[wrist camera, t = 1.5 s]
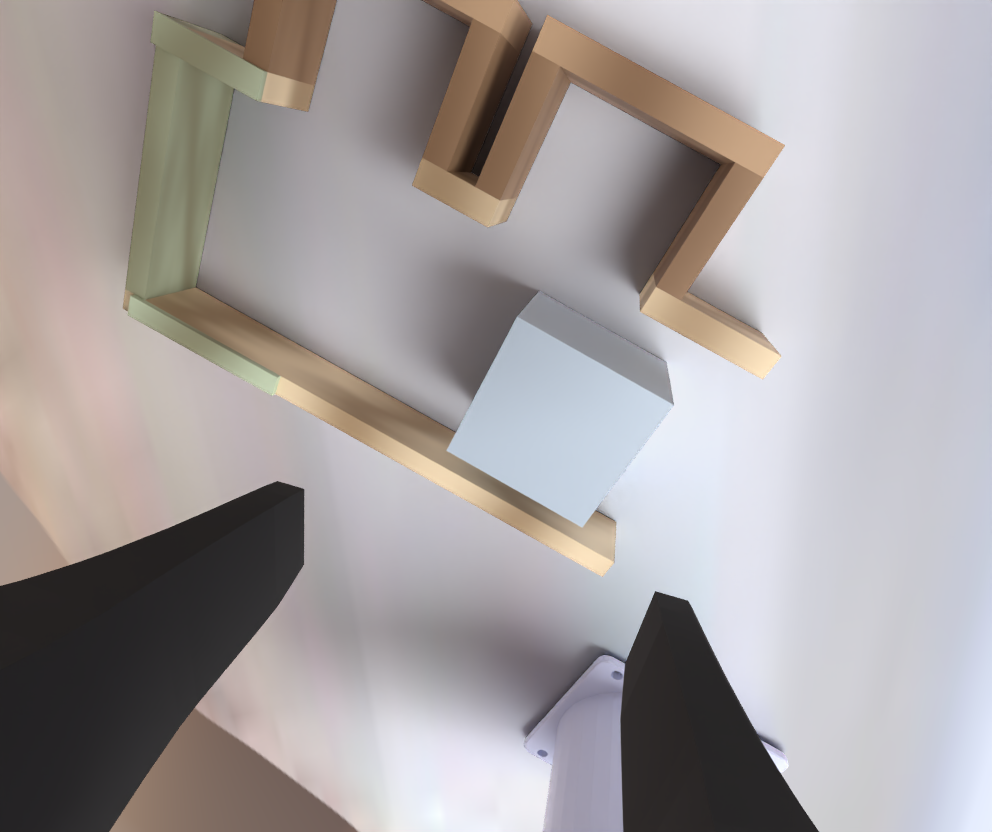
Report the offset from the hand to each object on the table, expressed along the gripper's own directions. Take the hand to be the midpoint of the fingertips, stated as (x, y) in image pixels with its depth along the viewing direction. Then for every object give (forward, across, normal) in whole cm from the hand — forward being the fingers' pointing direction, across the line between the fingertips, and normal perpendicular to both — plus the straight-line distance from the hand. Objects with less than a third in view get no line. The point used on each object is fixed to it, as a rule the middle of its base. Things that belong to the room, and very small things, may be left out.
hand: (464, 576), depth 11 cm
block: (+10, -1, 0) cm, 10 cm away
